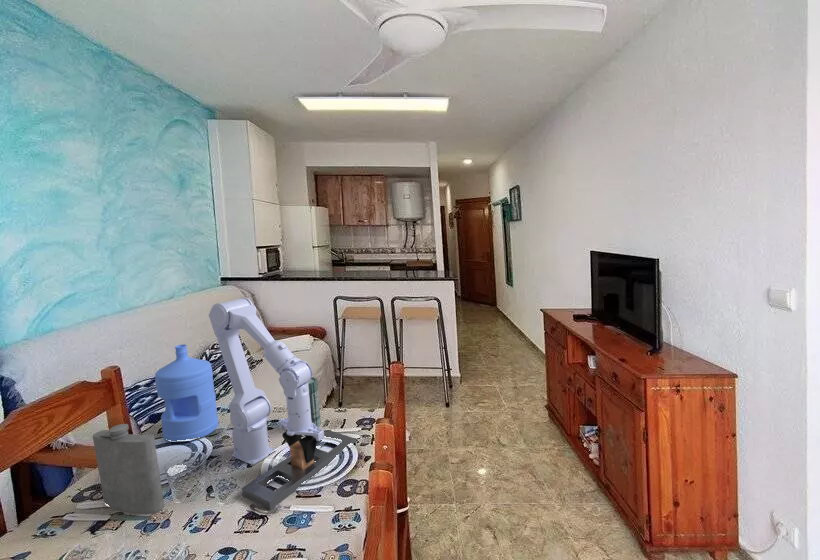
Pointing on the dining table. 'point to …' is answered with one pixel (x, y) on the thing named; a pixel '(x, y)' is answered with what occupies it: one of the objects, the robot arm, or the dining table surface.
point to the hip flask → (128, 470)
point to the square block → (298, 456)
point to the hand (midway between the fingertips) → (303, 458)
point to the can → (314, 401)
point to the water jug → (187, 397)
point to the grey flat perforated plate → (291, 474)
